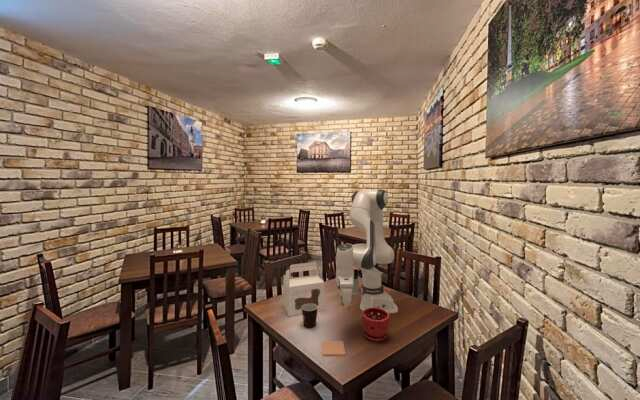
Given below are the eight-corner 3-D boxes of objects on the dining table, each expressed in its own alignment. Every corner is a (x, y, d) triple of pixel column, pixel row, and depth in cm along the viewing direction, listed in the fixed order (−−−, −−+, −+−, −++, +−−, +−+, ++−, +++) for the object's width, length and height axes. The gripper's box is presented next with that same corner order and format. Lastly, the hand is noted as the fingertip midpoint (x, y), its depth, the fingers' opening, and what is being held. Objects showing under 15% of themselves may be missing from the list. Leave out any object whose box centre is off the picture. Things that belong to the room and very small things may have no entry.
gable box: (288, 316, 161) (287, 268, 159) (283, 307, 174) (282, 262, 171) (324, 310, 169) (324, 264, 167) (317, 301, 181) (317, 258, 179)
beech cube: (349, 305, 144) (349, 295, 144) (350, 309, 139) (350, 299, 139) (339, 305, 144) (339, 295, 144) (340, 309, 139) (340, 300, 139)
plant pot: (356, 336, 141) (356, 313, 140) (372, 326, 150) (372, 304, 149) (379, 347, 132) (379, 322, 131) (394, 336, 141) (394, 313, 140)
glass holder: (360, 294, 191) (360, 273, 190) (339, 294, 191) (339, 273, 190) (358, 289, 200) (358, 268, 199) (338, 289, 200) (338, 269, 199)
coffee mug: (302, 321, 156) (302, 303, 156) (318, 321, 156) (317, 303, 155) (300, 332, 145) (300, 313, 144) (317, 332, 144) (317, 313, 144)
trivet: (343, 342, 136) (343, 341, 136) (345, 355, 126) (345, 354, 126) (322, 342, 135) (322, 341, 135) (322, 355, 125) (322, 354, 125)
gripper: (337, 270, 150) (337, 295, 152) (340, 285, 130) (340, 314, 131) (348, 270, 151) (348, 295, 152) (354, 285, 130) (353, 314, 131)
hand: (344, 304), depth 141 cm, fingers closed on beech cube, 5 cm apart
